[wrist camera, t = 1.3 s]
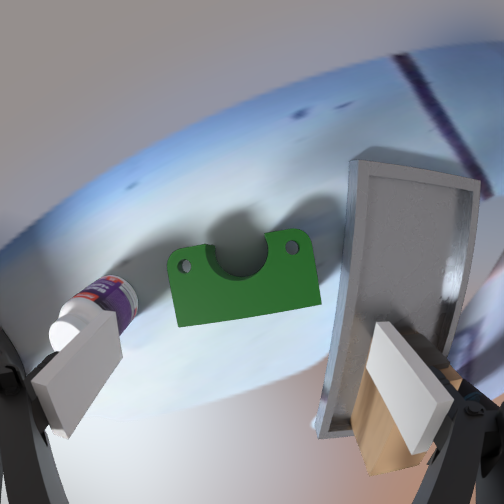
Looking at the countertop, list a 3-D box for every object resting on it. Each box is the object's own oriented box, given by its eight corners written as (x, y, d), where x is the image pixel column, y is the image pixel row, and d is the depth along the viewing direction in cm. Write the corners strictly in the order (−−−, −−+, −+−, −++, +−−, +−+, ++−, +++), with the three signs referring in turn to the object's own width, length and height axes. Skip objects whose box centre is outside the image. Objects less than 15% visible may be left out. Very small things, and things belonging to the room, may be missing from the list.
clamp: (277, 237, 32) (327, 223, 23) (287, 294, 32) (339, 298, 23) (160, 255, 28) (169, 245, 19) (172, 319, 27) (186, 337, 19)
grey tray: (314, 425, 33) (317, 439, 30) (349, 161, 26) (358, 159, 23) (413, 412, 33) (420, 424, 30) (466, 179, 26) (480, 180, 23)
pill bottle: (122, 265, 28) (71, 302, 18) (149, 312, 29) (111, 364, 20) (84, 286, 28) (31, 325, 19) (110, 329, 30) (67, 380, 20)
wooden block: (349, 421, 31) (369, 476, 23) (372, 332, 29) (409, 383, 20) (393, 415, 31) (418, 464, 23) (421, 328, 29) (464, 372, 20)
